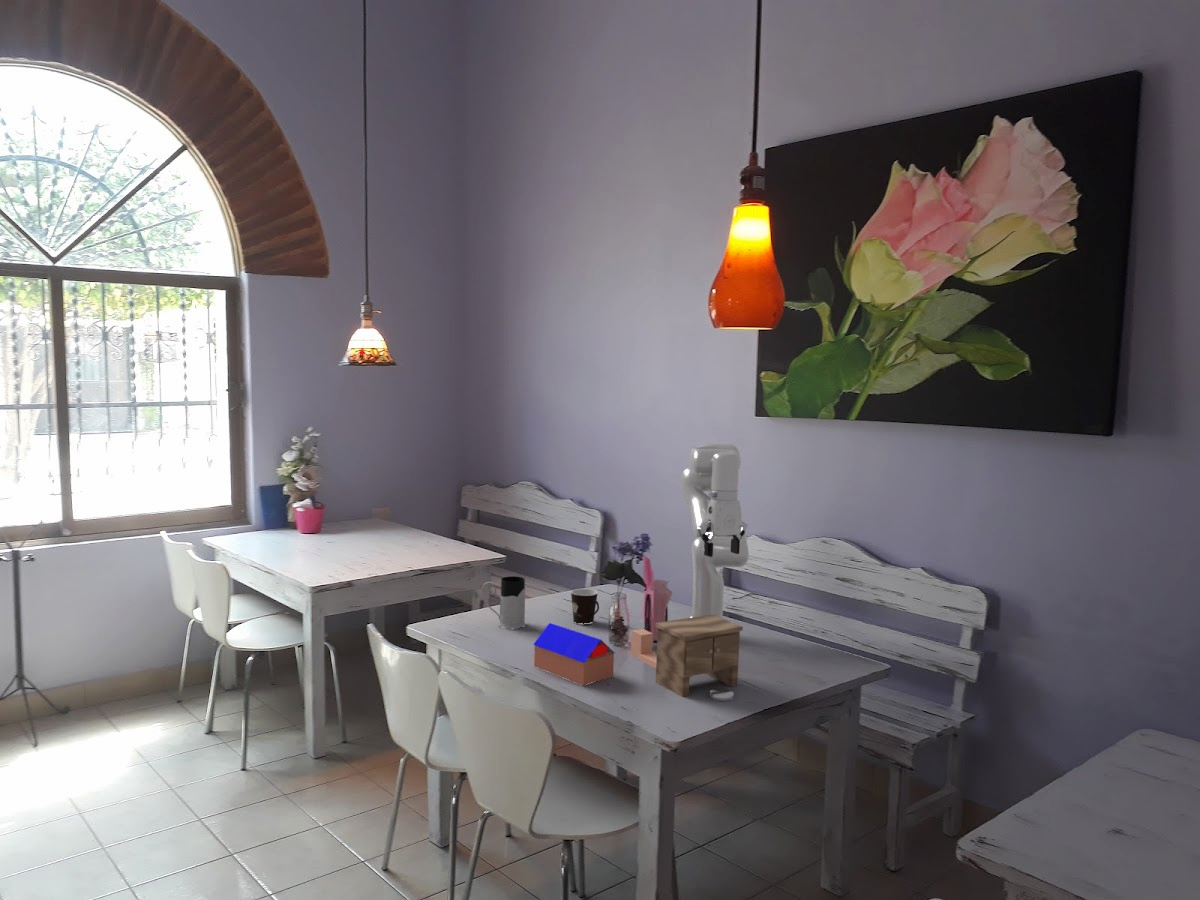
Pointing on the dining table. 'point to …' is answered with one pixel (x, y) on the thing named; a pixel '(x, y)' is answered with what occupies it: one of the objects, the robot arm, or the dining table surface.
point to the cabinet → (696, 651)
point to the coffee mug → (584, 605)
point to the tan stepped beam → (643, 646)
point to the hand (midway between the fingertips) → (721, 554)
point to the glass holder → (511, 602)
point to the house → (573, 655)
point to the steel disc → (721, 694)
